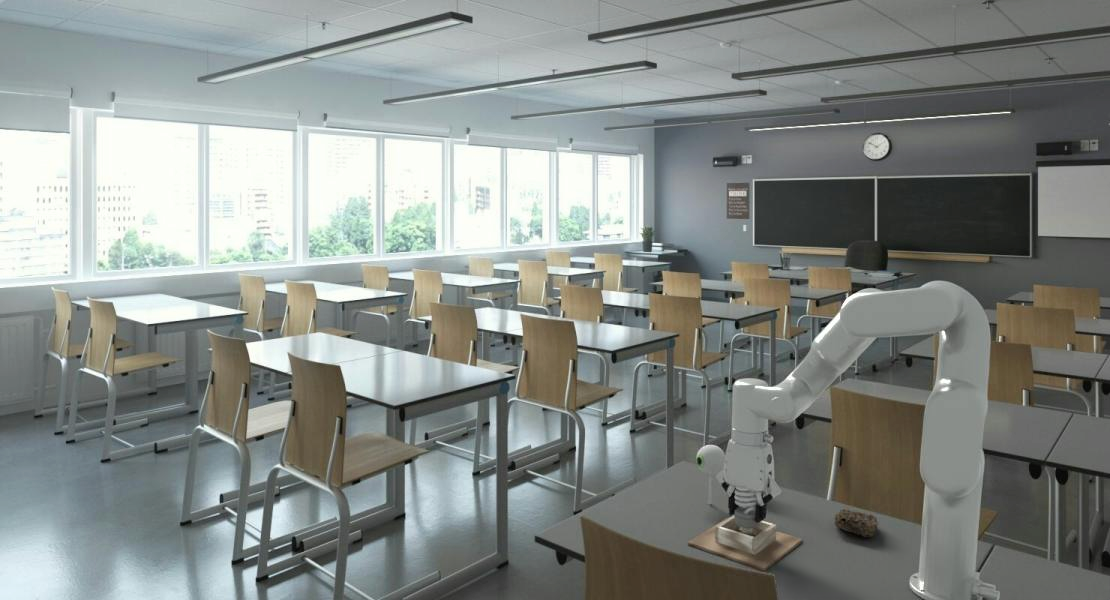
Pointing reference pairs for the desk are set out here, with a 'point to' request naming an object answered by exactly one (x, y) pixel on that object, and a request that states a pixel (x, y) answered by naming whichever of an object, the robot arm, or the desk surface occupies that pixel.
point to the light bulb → (745, 509)
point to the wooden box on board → (746, 543)
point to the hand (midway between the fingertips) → (746, 516)
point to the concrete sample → (856, 522)
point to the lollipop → (710, 462)
